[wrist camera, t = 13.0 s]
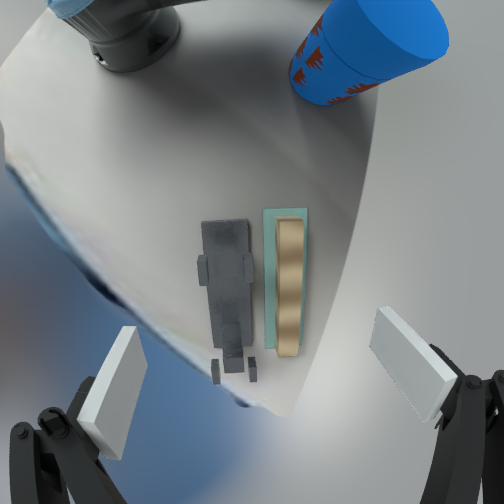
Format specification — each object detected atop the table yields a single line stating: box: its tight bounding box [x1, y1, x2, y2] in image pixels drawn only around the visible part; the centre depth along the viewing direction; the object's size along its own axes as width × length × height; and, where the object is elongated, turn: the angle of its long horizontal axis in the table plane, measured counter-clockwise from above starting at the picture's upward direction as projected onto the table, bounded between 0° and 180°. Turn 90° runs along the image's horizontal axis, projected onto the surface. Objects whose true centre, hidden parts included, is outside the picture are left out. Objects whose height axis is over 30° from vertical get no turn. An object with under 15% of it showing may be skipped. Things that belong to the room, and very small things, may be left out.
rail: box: [275, 216, 304, 358], centre depth 44 cm, size 24×4×4 cm, turn 2°
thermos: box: [289, 0, 449, 106], centre depth 25 cm, size 11×11×25 cm
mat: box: [263, 207, 307, 349], centre depth 47 cm, size 26×7×1 cm, turn 2°
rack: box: [197, 219, 257, 384], centre depth 40 cm, size 23×7×13 cm, turn 2°
